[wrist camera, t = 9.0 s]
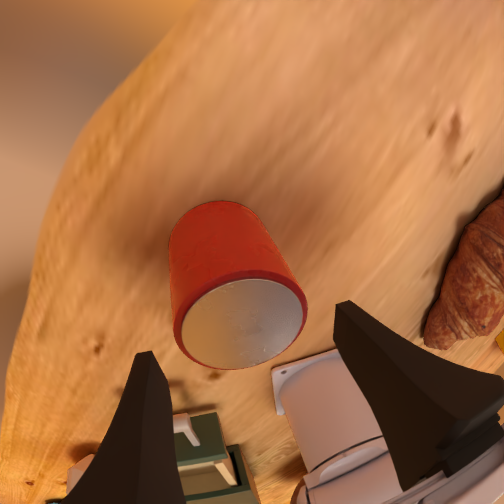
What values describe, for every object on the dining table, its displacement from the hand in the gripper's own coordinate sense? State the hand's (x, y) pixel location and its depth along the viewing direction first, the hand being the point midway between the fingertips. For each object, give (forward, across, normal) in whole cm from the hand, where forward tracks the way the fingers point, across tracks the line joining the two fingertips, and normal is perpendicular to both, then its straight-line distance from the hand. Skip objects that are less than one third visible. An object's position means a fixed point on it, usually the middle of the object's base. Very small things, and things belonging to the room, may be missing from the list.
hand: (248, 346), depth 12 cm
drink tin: (+8, 0, 0) cm, 8 cm away
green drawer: (+7, +8, +20) cm, 22 cm away
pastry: (+8, -24, +7) cm, 26 cm away
